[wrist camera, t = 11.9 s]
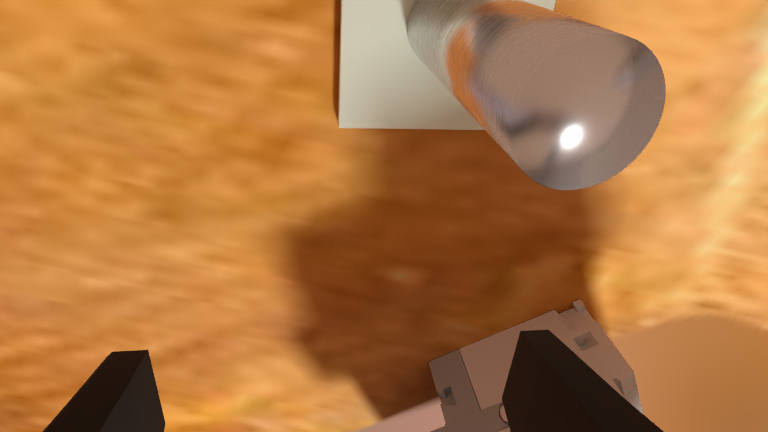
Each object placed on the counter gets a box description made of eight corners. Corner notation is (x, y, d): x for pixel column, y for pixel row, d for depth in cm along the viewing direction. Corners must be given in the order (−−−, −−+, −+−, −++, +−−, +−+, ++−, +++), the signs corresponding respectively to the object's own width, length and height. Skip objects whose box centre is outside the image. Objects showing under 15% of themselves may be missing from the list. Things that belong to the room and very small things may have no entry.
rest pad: (337, 122, 18) (338, 128, 18) (343, -108, 15) (344, -109, 14) (520, 125, 19) (526, 130, 19) (566, -88, 16) (575, -88, 15)
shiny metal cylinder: (405, 70, 17) (499, 194, 9) (409, -22, 15) (524, 34, 8) (485, 68, 17) (639, 185, 10) (495, -22, 16) (687, 32, 8)
